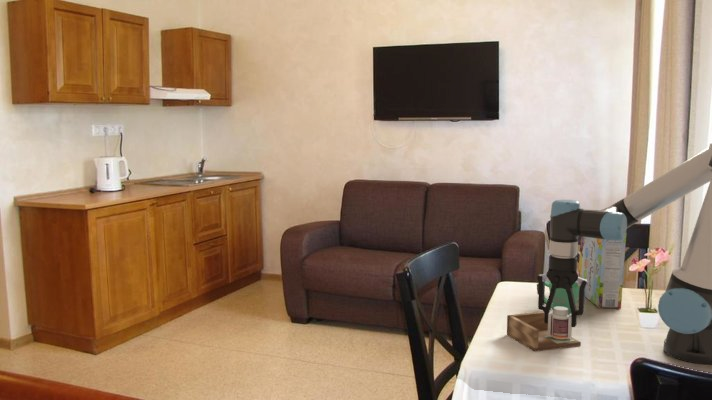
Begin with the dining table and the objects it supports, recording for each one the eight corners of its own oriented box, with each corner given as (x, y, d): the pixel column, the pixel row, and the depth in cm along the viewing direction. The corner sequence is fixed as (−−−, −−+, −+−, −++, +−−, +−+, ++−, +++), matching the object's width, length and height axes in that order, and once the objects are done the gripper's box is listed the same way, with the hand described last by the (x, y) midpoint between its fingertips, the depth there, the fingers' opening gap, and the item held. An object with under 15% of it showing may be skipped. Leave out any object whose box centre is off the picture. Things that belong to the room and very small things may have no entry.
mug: (585, 314, 207) (586, 284, 205) (570, 320, 200) (571, 289, 199) (544, 304, 217) (545, 276, 216) (528, 310, 211) (529, 281, 209)
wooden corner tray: (580, 345, 179) (581, 324, 178) (534, 351, 174) (534, 330, 173) (550, 329, 192) (551, 310, 191) (506, 335, 187) (507, 315, 186)
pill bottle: (571, 339, 179) (573, 310, 178) (556, 340, 178) (557, 311, 177) (563, 333, 184) (564, 305, 183) (547, 334, 183) (548, 306, 182)
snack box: (624, 308, 212) (628, 232, 209) (597, 308, 213) (601, 232, 209) (599, 291, 234) (603, 221, 231) (576, 291, 234) (579, 221, 231)
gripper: (598, 255, 177) (594, 336, 180) (533, 249, 185) (530, 327, 188) (595, 261, 171) (591, 345, 174) (527, 254, 179) (525, 335, 182)
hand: (559, 335), depth 181 cm, fingers closed on pill bottle, 5 cm apart
